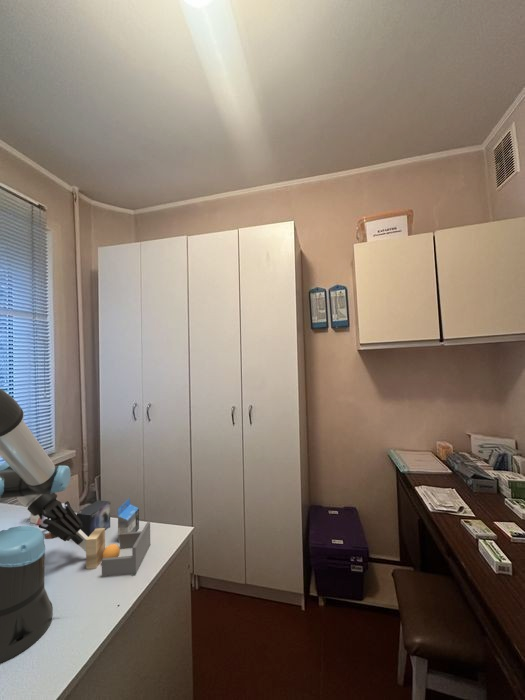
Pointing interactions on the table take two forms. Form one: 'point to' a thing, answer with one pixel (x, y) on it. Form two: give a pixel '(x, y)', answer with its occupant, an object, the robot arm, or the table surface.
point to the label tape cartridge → (127, 518)
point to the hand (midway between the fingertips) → (90, 547)
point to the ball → (111, 551)
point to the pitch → (128, 563)
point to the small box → (95, 516)
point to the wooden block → (95, 548)
